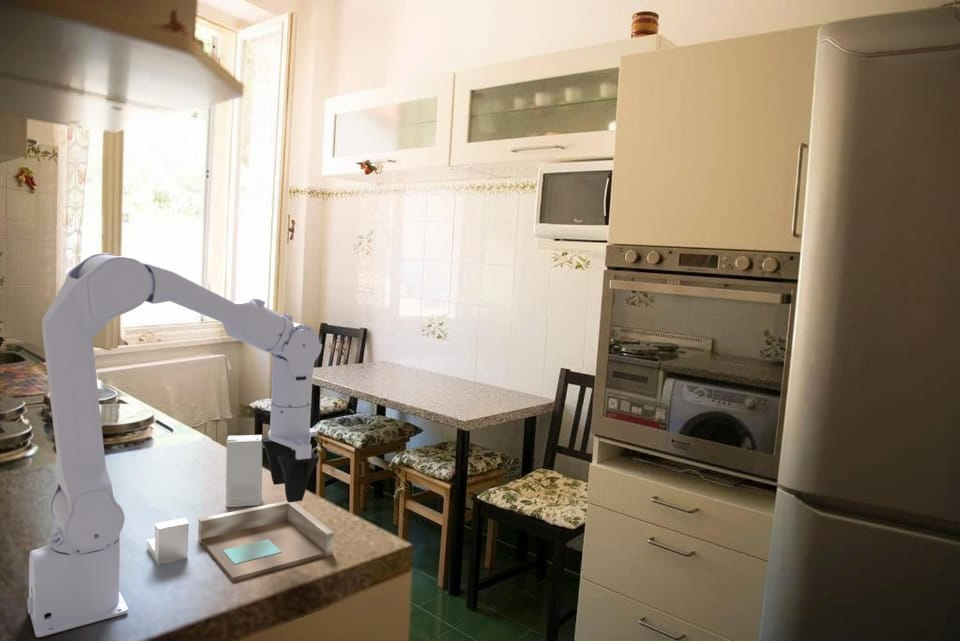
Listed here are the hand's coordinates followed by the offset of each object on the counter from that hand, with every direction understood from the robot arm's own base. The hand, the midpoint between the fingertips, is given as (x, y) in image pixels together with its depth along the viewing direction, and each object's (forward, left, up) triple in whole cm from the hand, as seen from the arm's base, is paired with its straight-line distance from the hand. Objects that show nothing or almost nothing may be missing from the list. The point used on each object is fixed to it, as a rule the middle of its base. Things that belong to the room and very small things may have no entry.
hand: (287, 491), depth 96 cm
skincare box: (+2, +22, -10) cm, 24 cm away
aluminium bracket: (-14, +9, -10) cm, 20 cm away
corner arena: (-2, +3, -10) cm, 10 cm away
